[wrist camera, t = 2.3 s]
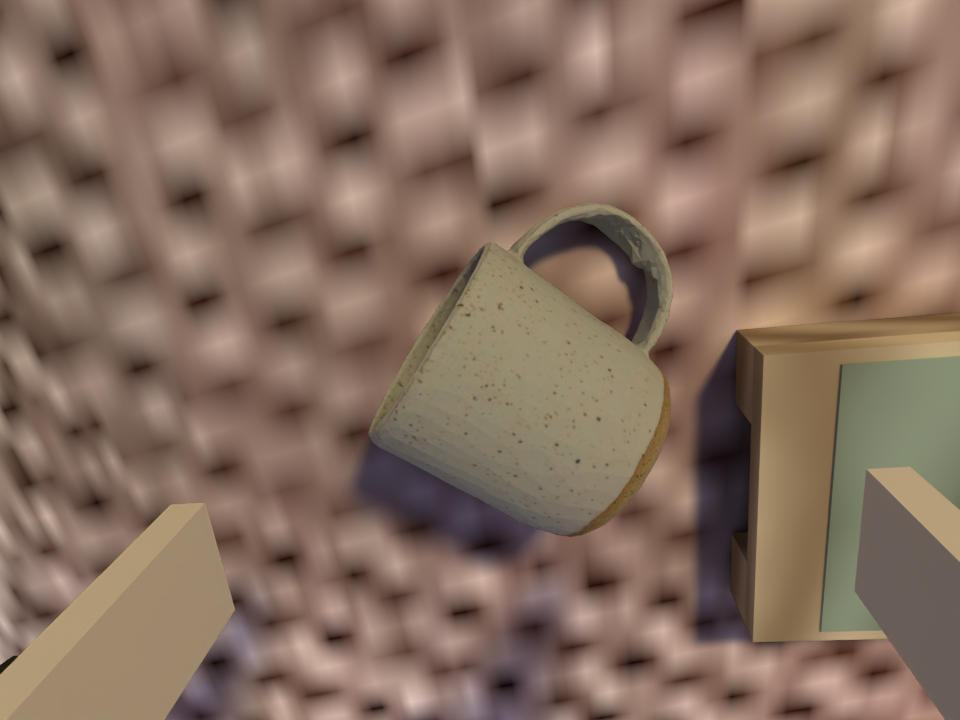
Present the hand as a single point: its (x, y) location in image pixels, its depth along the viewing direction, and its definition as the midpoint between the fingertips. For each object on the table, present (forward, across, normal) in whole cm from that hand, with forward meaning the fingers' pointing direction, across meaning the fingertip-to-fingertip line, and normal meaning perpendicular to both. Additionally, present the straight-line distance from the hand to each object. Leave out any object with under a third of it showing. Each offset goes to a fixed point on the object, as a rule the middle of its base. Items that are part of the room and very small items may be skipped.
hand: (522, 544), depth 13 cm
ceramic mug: (+13, 0, +1) cm, 13 cm away
